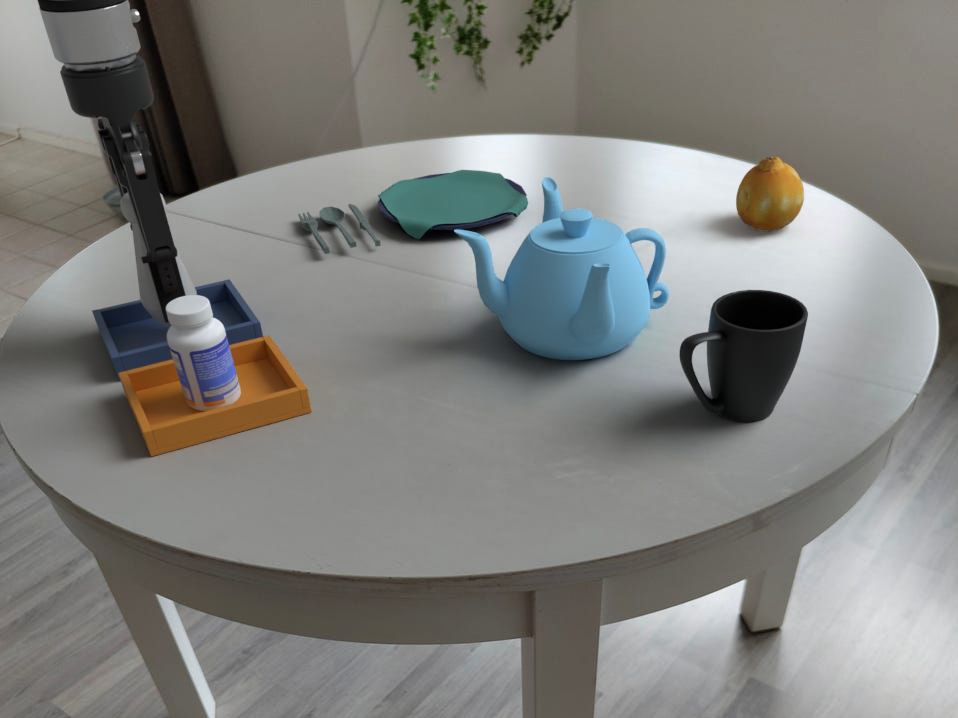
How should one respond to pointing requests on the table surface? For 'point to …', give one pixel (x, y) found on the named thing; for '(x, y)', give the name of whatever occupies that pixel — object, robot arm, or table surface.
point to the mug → (747, 352)
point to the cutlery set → (435, 204)
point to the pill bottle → (201, 354)
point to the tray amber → (178, 425)
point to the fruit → (770, 195)
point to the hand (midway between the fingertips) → (171, 306)
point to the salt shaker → (143, 271)
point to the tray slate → (145, 340)
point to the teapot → (572, 283)
